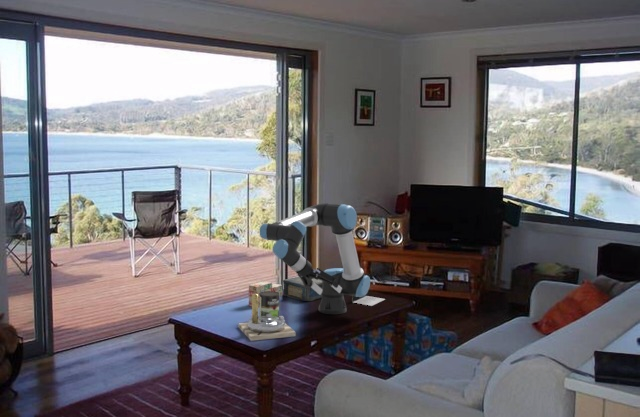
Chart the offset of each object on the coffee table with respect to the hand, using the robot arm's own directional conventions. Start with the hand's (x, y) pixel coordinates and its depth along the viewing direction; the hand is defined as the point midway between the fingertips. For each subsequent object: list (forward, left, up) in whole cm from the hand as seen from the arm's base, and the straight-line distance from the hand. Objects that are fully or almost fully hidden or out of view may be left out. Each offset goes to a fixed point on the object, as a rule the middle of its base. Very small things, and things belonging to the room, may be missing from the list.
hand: (330, 291), depth 309 cm
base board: (-21, -24, -23) cm, 40 cm away
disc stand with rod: (-21, -24, -21) cm, 39 cm away
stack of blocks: (-71, -9, -24) cm, 75 cm away
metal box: (-82, +24, -24) cm, 89 cm away
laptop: (-57, +48, -24) cm, 79 cm away
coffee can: (-39, -17, -23) cm, 49 cm away
